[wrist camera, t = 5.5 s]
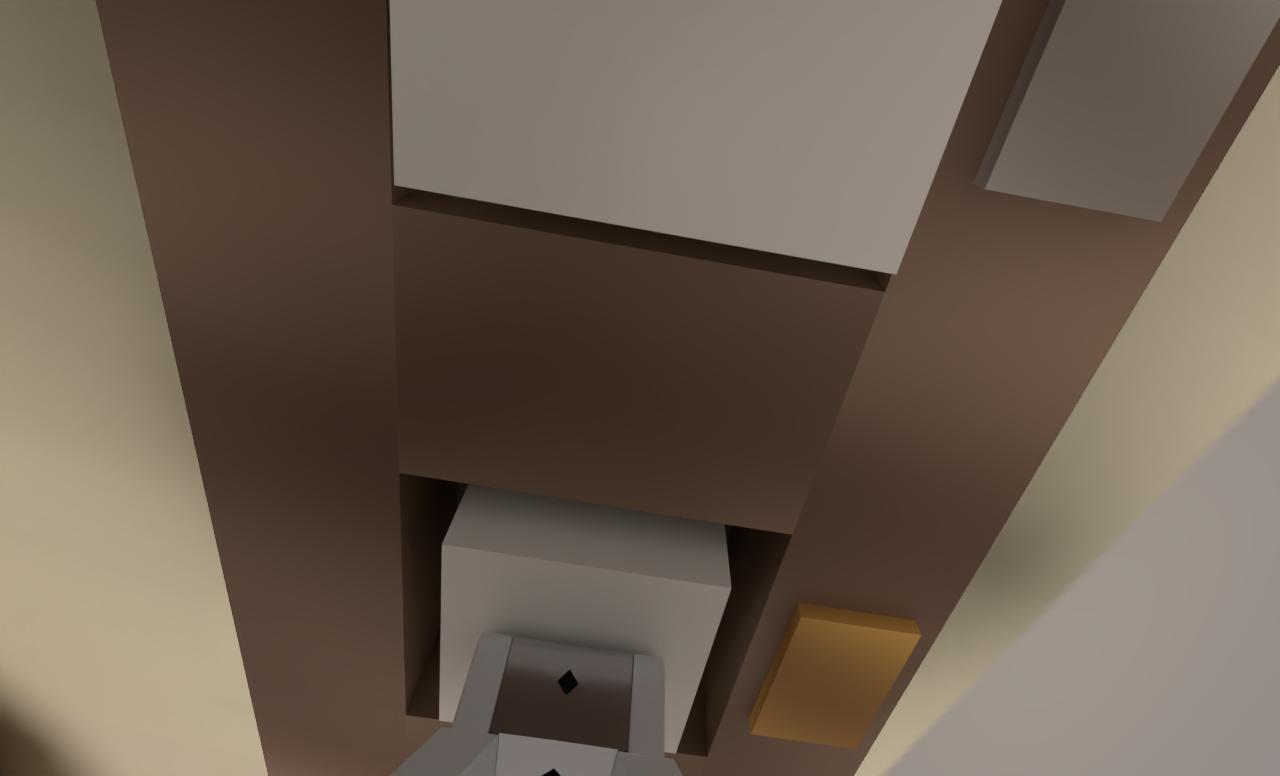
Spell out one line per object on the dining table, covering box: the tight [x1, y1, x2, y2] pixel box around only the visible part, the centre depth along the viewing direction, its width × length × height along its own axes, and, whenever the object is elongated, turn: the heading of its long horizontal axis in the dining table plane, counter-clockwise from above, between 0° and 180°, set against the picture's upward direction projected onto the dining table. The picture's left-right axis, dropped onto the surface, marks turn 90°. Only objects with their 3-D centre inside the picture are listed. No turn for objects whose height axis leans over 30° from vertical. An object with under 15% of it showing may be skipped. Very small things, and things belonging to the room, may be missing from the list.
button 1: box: [439, 484, 731, 754], centre depth 12 cm, size 4×4×3 cm
